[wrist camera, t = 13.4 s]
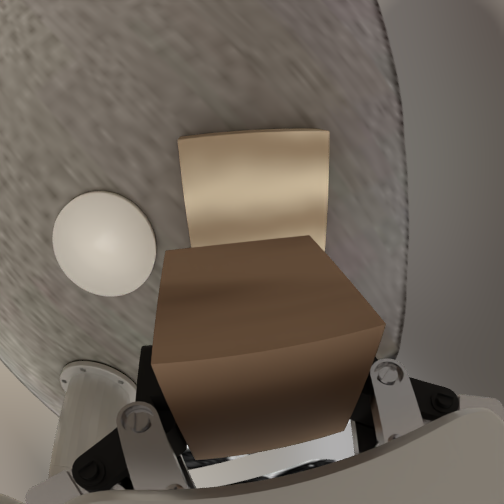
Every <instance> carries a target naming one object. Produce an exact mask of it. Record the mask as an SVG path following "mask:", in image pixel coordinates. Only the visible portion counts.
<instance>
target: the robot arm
mask: <svg viewBox="0 0 504 504" xmlns="http://www.w3.org/2000/svg"><path fill="white" fill-rule="evenodd" d="M152 347H153V345H149V346H142V348H141V354H140V362H139V370H138V379H137V386H136V385H135V384H134V382H133V381H132V380H131V379H129V378H128V377H127V376H126V375H124V374H123V373H121V372H119V371H117V370H116V369H114V368H111V367H109V366H106V365H103V364H100V363H96V362H90V361H77V362H72V363H69V364H67V365H66V366H65V367H64V368H63V369H62V372H61V375H60V383H61V386H62V388H63V390H64V391H65V392H66V395H65V398H64V402H63V406H62V410H61V414H60V418H59V423H58V427H57V431H56V436H55V441H54V446H53V451H52V456H51V462H50V469H49V477H48V479H47V480H45V481H43V482H41V483H40V484H37V485H35V486H33V487H32V488H30V489H29V490H28V492H27V494H26V503H27V504H504V409H503V405H502V404H501V402H499V401H498V400H497V399H494V398H487V397H479V396H471V395H464V394H460V395H459V396H456V394H455V393H454V392H453V391H452V390H450V389H448V388H445V387H442V386H438V385H434V384H431V383H427V382H424V381H420V380H417V379H414V378H410V377H409V376H408V373H407V371H406V369H405V367H404V366H403V365H402V364H401V363H400V362H398V361H396V360H393V359H381V360H377V358H376V357H375V358H374V361H373V364H372V366H371V369H370V372H369V374H368V377H367V379H366V382H365V384H364V387H363V389H362V392H361V394H360V397H359V399H358V401H357V404H356V406H355V408H354V410H353V413H352V415H351V417H350V419H351V427H352V435H353V444H354V453H355V455H354V456H352V457H349V458H346V459H343V460H340V461H337V462H334V463H331V464H327V465H324V466H321V467H317V468H314V469H310V470H306V471H303V472H299V473H295V474H290V475H286V476H282V477H277V478H272V479H267V480H262V481H256V482H250V483H244V484H237V485H229V486H220V487H210V488H198V489H197V488H196V486H195V485H194V482H193V480H192V478H191V476H190V474H189V471H188V469H187V467H186V465H185V462H184V460H183V458H182V455H181V454H182V453H183V452H184V451H185V450H186V449H187V443H186V441H185V439H184V437H183V435H182V433H181V431H180V429H179V427H178V425H177V423H176V421H175V419H174V417H173V414H172V412H171V410H170V408H169V406H168V404H167V401H166V399H165V397H164V395H163V392H162V390H161V388H160V385H159V383H158V381H157V378H156V376H155V373H154V371H153V368H152V366H151V357H152ZM0 504H25V503H23V502H20V501H18V500H16V499H14V498H11V497H9V496H6V495H4V494H0Z"/></svg>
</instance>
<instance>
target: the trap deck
mask: <svg viewBox="0 0 504 504" xmlns="http://www.w3.org/2000/svg"><path fill="white" fill-rule="evenodd" d="M178 149H179V159H180V168H181V176H182V185H183V193H184V200H185V208H186V215H187V222H188V229H189V236H190V242H191V248H193V247H202V246H211V245H220V244H229V243H239V242H248V241H257V240H267V239H276V238H286V237H295V236H305V235H310V236H311V237H312V239H313V240H314V241H315V242H316V243H317V244H318V245H319V246H320V247H321V249H322V250H323V251H324V252H325V240H326V224H327V206H328V182H329V131H325V130H321V129H309V128H305V129H263V130H245V131H231V132H219V133H209V134H199V135H191V136H183V137H180V138H179V139H178Z"/></svg>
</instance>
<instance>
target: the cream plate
mask: <svg viewBox="0 0 504 504" xmlns="http://www.w3.org/2000/svg"><path fill="white" fill-rule="evenodd" d="M52 237H53V249H54V253H55V256H56V259H57V261H58V263H59V265H60V267H61V268H62V270H63V271H64V273H65V274H66V275H67V276H68V277H69V279H71V280H72V281H73V282H74V283H75V284H76V285H78V286H79V287H81V288H82V289H84V290H86V291H88V292H91V293H93V294H97V295H101V296H120V295H124V294H128V293H130V292H132V291H134V290H136V289H137V288H139V287H140V286H141V285H142V284H143V283H144V282H145V281H146V280H147V278H148V277H149V275H150V273H151V271H152V269H153V266H154V262H155V258H156V238H155V234H154V231H153V228H152V226H151V224H150V222H149V220H148V218H147V217H146V216H145V214H144V213H143V212H142V211H141V210H140V208H139V207H138V206H136V205H135V204H134V203H133V202H132V201H130V200H128V199H127V198H125V197H123V196H121V195H119V194H116V193H112V192H107V191H92V192H87V193H84V194H82V195H79V196H77V197H76V198H74V199H73V200H72V201H70V202H69V203H68V204H67V205H66V206H65V207H64V208H63V209H62V211H61V212H60V213H59V215H58V217H57V219H56V222H55V224H54V229H53V236H52Z"/></svg>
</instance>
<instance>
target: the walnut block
mask: <svg viewBox="0 0 504 504" xmlns="http://www.w3.org/2000/svg"><path fill="white" fill-rule="evenodd" d="M385 325H386V324H385V322H384V321H383V320H382V319H381V317H380V316H379V315H378V314H377V313H376V311H375V310H374V309H373V308H372V307H371V305H370V304H369V303H368V302H367V301H366V299H365V298H364V297H363V296H362V295H361V293H360V292H359V291H358V290H357V289H356V288H355V286H354V285H353V284H352V283H351V282H350V280H349V279H348V278H347V277H346V276H345V275H344V274H343V272H342V271H341V270H340V269H339V268H338V267H337V265H336V264H335V263H334V262H333V261H332V260H331V259H330V258H329V256H328V255H327V254H326V253H325V252H324V251H323V250H322V249H321V247H320V246H319V245H318V244H317V243H316V242H315V241H314V240H313V239H312V237H311V236H310V235H305V236H295V237H286V238H276V239H267V240H257V241H248V242H239V243H229V244H220V245H211V246H202V247H193V248H185V249H176V250H167V251H165V257H164V263H163V269H162V276H161V282H160V289H159V296H158V304H157V311H156V319H155V328H154V337H153V347H152V357H151V366H152V368H153V371H154V373H155V376H156V378H157V381H158V383H159V385H160V388H161V390H162V392H163V395H164V397H165V399H166V401H167V404H168V406H169V408H170V410H171V412H172V414H173V417H174V419H175V421H176V423H177V425H178V427H179V429H180V431H181V433H182V435H183V437H184V439H185V441H186V443H187V445H188V447H189V449H190V450H191V452H192V454H193V456H194V458H195V460H201V459H212V458H222V457H230V456H237V455H244V454H250V453H256V452H262V451H267V450H272V449H277V448H282V447H287V446H291V445H295V444H299V443H303V442H307V441H311V440H314V439H318V438H322V437H325V436H329V435H332V434H335V433H338V432H341V431H344V430H345V428H346V426H347V423H348V421H349V419H350V417H351V415H352V413H353V410H354V408H355V406H356V404H357V401H358V399H359V397H360V394H361V392H362V389H363V387H364V384H365V382H366V379H367V377H368V374H369V372H370V369H371V366H372V364H373V361H374V358H375V355H376V353H377V350H378V347H379V344H380V341H381V338H382V335H383V332H384V329H385Z"/></svg>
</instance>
